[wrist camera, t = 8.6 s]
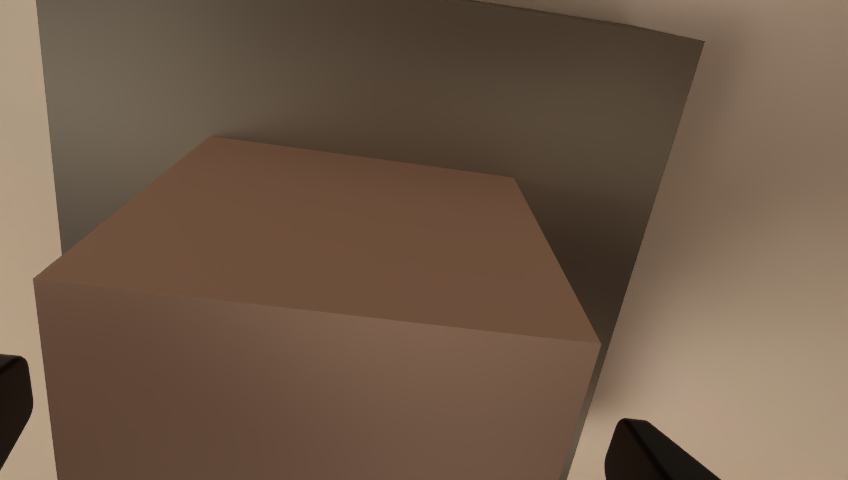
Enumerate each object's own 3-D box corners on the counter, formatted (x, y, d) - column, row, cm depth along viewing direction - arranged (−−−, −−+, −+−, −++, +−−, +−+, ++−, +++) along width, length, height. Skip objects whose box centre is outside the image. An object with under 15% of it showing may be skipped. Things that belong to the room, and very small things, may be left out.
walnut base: (528, 413, 20) (555, 514, 16) (147, 374, 19) (84, 472, 15) (631, 25, 15) (704, 41, 11) (129, -54, 14) (28, -65, 10)
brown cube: (462, 414, 14) (495, 682, 9) (208, 388, 14) (79, 654, 8) (513, 177, 12) (601, 343, 7) (209, 136, 12) (33, 279, 6)
